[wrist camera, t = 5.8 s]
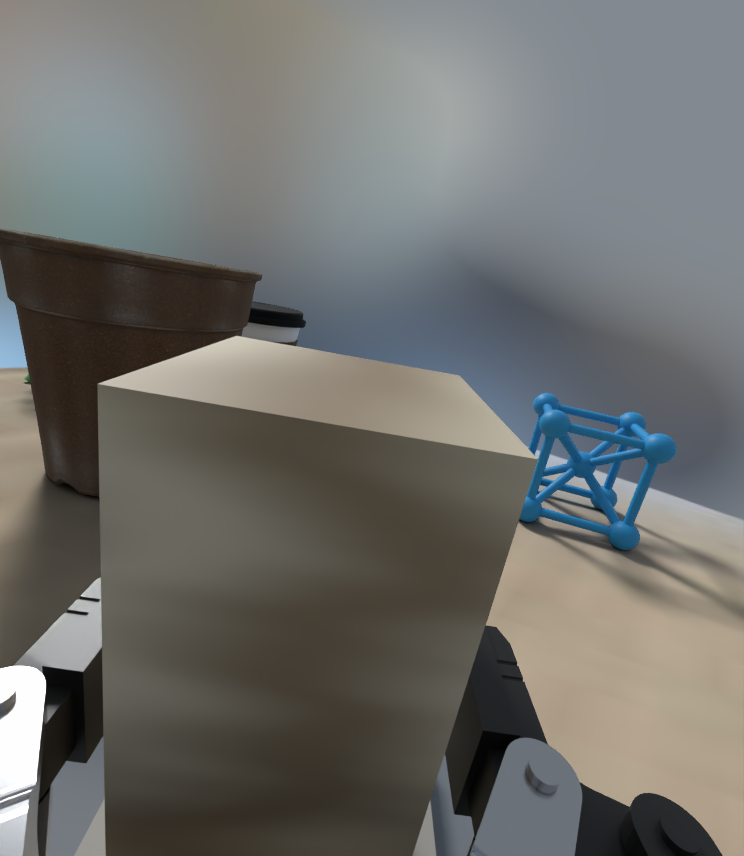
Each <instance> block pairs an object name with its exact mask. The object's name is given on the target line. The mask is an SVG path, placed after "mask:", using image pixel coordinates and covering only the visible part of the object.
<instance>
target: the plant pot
mask: <svg viewBox="0 0 744 856" xmlns="http://www.w3.org/2000/svg"><path fill="white" fill-rule="evenodd" d="M0 260H1V264H2V269H3V274H4V279H5V285H6V290H7V295H8V297H9V299H10V300H11V301H13V302H14V303H15V305H16V309H17V315H18V319H19V325H20V330H21V335H22V340H23V345H24V350H25V356H26V361H27V366H28V372H29V377H30V382H31V388H32V393H33V399H34V404H35V410H36V415H37V421H38V427H39V433H40V439H41V445H42V451H43V458H44V465H45V470H46V473H47V475H48V477H49V478H50V479H51V480H52V481H53V482H54V483H56V484H63V483H67V484H69V485H71V486H72V487H73V488H75V489H76V490H77V491H78V492H79V493H81V494H86V495H92V496H99V443H98V385H97V384H99V383H101V382H104V381H107V380H110V379H113V378H116V377H119V376H122V375H125V374H127V373H130V372H133V371H136V370H139V369H142V368H145V367H148V366H151V365H153V364H156V363H159V362H162V361H165V360H168V359H171V358H174V357H177V356H180V355H182V354H185V353H188V352H191V351H194V350H197V349H200V348H203V347H206V346H208V345H211V344H214V343H217V342H220V341H223V340H226V339H229V338H232V337H235V336H240V337H242V332H243V328H244V327H246V326H247V324H248V320H249V315H250V309H251V304H252V299H253V293H254V288H255V284H256V282H257V281H260V280H261V279H262V273H257V272H252V271H247V270H240V269H234V268H229V267H223V266H217V265H211V264H205V263H200V262H194V261H188V260H182V259H177V258H171V257H165V256H160V255H154V254H148V253H142V252H136V251H130V250H124V249H118V248H112V247H106V246H100V245H95V244H89V243H84V242H78V241H72V240H67V239H61V238H56V237H50V236H44V235H37V234H32V233H26V232H20V231H14V230H7V229H0Z"/></svg>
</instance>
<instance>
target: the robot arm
mask: <svg viewBox="0 0 744 856" xmlns="http://www.w3.org/2000/svg"><path fill="white" fill-rule="evenodd" d="M103 735H104V734H103V676H102V618H101V577H100V578H99V579H97V580H95V581H94V582H93V583H92V584H91V585H90V586H89V587H88V588H87V589H86V591H85V592H84V593H83V594H82V595H81V596H80V598H79V600H78V599H77V600H76V601H75V602H74V603H73V604H72V605H71V606H70V607H69V608H68V609H67V612H66V613H63V614H62V616H61V617H60V618H59V619H58V620H57V621H56V622H55V623H54V624H53V625H52V626H51V627H50V628H49V629H48V630H47V631H46V632H45V633H44V634H43V635H42V636H41V637H40V638H39V639H38V641H37V642H36V643H35V644H34V645H33V646H32V647H31V648H30V649H29V650H28V651H27V652H26V653H25V654H24V655H23V656H22V657H21V658H20V659H19V660H18V661H17V662H16V663H15V664H14V665H13V666H12V667H6V668H2V669H0V856H48V853H49V839H50V824H51V810H52V795H53V783H52V782H53V781H54V779H55V777H56V776H57V774H58V773H59V771H60V770H61V768H62V767H63V765H64V764H65V762H66V761H71V762H78V763H87V762H88V760H89V758H90V757H91V755H92V753H93V752H94V750H95V748H96V747H97V745H98V744H99V742H100V740H101V739H102V737H103ZM445 756H446V763H447V770H448V777H449V784H450V790H451V797H452V804H453V811H454V814H455V815H462V816H470V817H471V819H472V825H473V830H474V837H473V839H472V842H471V845H470V848H469V851H468V853H467V856H722V854H721V852H720V851H719V849H718V848H717V846H716V845H715V843H714V841H713V840H712V839H711V837H710V836H709V834H708V833H707V832H706V830H705V829H704V828H703V827H702V826H701V825H700V823H699V822H698V821H697V820H696V819H695V818H694V817H693V816H691V815H690V814H689V813H688V812H687V811H686V810H684V809H683V808H682V807H680V806H679V805H678V804H676V803H674V802H673V801H671V800H669V799H667V798H665V797H663V796H660V795H657V794H652V793H643V794H640V795H638V796H637V797H635V799H634V800H633V802H632V804H631V806H630V807H628V806H626V805H624V804H622V803H620V802H618V801H616V800H614V799H611V798H609V797H607V796H605V795H603V794H601V793H599V792H596V791H594V790H592V789H590V788H589V787H587V786H585V785H583V784H582V783H580V782H579V780H578V778H577V775H576V773H575V772H574V770H573V768H572V767H571V766H570V764H569V763H568V762H567V760H566V759H565V758H564V757H563V756H562V755H561V754H560V753H558V752H557V751H556V750H555V749H553V748H552V747H551V746H549V745H548V743H547V741H546V738H545V736H544V733H543V730H542V728H541V725H540V722H539V720H538V717H537V714H536V712H535V709H534V706H533V704H532V701H531V698H530V696H529V693H528V690H527V688H526V685H525V682H523V677H522V674H521V672H520V669H519V666H517V661H516V658H515V656H514V653H513V650H512V648H511V645H510V643H509V642H508V641H507V640H506V638H505V637H504V636H503V635H502V634H501V632H500V631H499V630H498V629H497V627H492V626H485V628H484V631H483V635H482V638H481V641H480V644H479V647H478V650H477V654H476V657H475V660H474V663H473V666H472V669H471V672H470V676H469V679H468V682H467V685H466V688H465V691H464V695H463V698H462V701H461V704H460V707H459V710H458V713H457V717H456V720H455V723H454V726H453V729H452V732H451V736H450V739H449V742H448V745H447V748H446V751H445Z"/></svg>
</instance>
